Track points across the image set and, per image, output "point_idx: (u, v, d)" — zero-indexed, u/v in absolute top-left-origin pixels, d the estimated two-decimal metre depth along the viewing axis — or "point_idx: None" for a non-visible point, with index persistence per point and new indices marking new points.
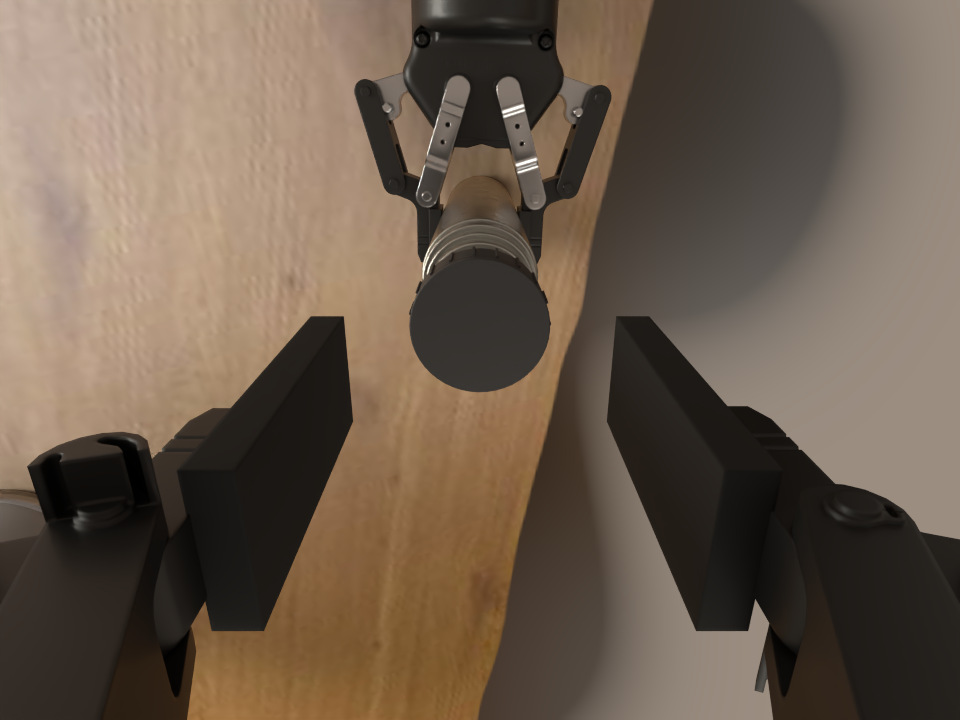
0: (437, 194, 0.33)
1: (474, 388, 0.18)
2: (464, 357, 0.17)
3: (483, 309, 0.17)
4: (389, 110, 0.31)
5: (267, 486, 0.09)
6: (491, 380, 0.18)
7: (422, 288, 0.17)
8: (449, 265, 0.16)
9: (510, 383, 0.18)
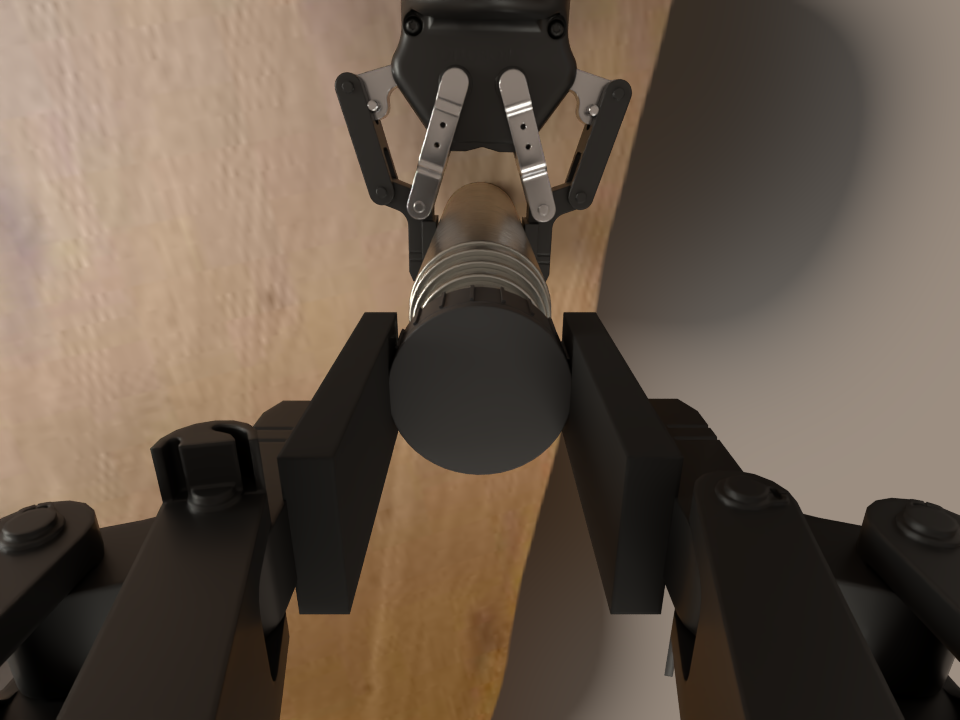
0: (431, 204, 0.29)
1: (473, 470, 0.14)
2: (459, 432, 0.13)
3: (485, 371, 0.13)
4: (375, 108, 0.27)
5: (351, 474, 0.09)
6: (495, 460, 0.13)
7: (403, 343, 0.12)
8: (439, 314, 0.12)
9: (520, 463, 0.14)
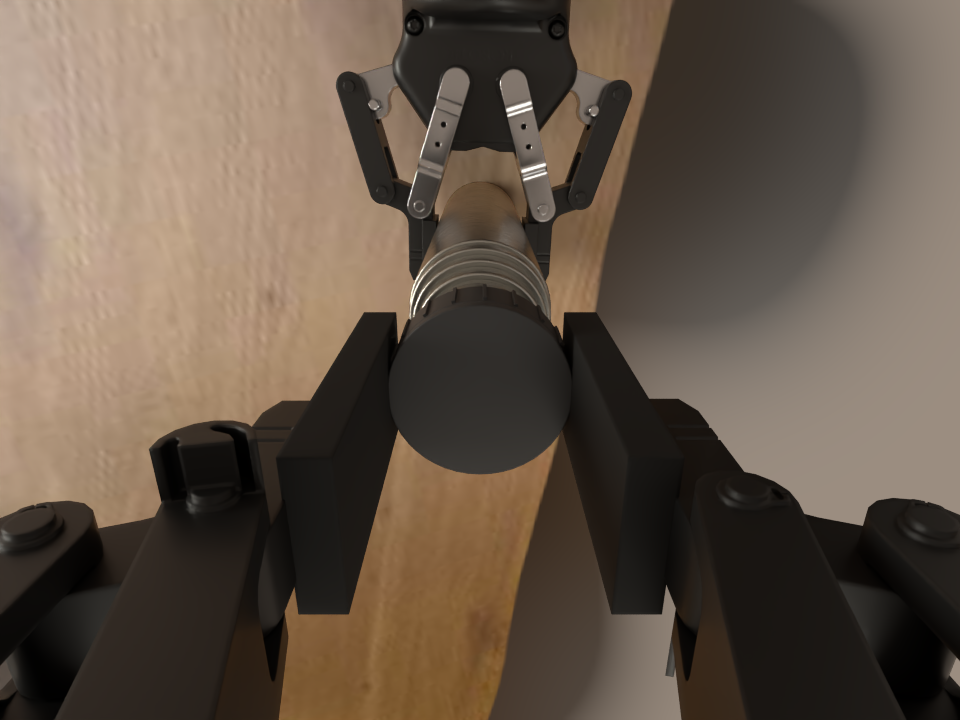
0: (431, 204, 0.29)
1: (566, 380, 0.13)
2: (525, 402, 0.13)
3: (453, 397, 0.13)
4: (376, 107, 0.27)
5: (350, 474, 0.09)
6: (549, 361, 0.13)
7: (450, 468, 0.14)
8: (413, 446, 0.13)
9: (549, 331, 0.12)
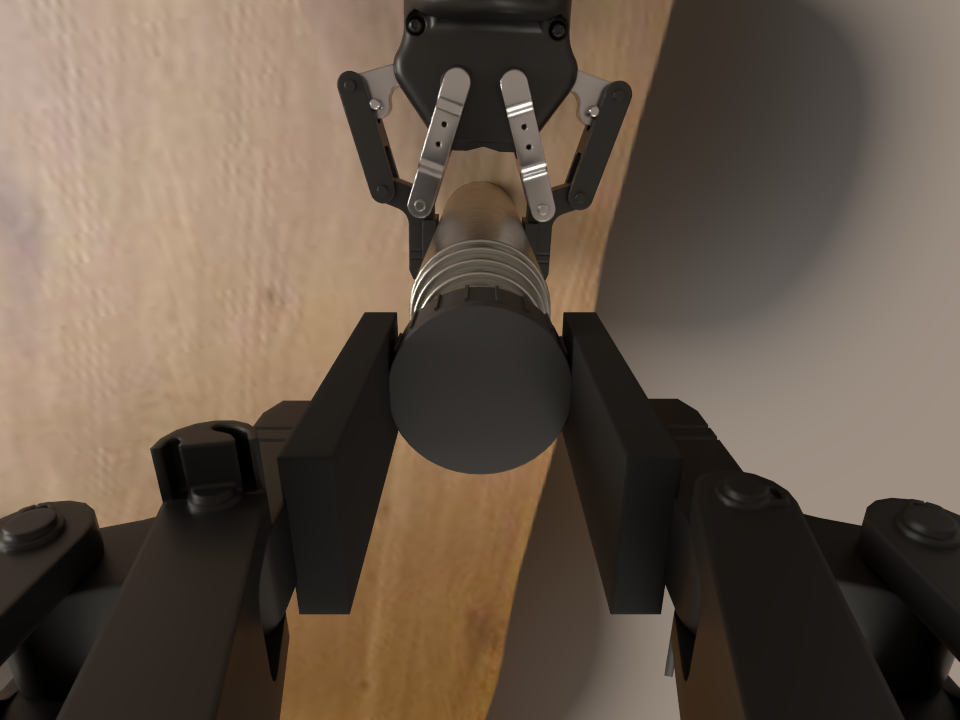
0: (431, 203, 0.29)
1: (438, 321, 0.12)
2: (476, 351, 0.12)
3: (489, 417, 0.13)
4: (377, 107, 0.27)
5: (351, 474, 0.09)
6: (424, 342, 0.12)
7: None
8: (554, 438, 0.13)
9: (398, 347, 0.13)
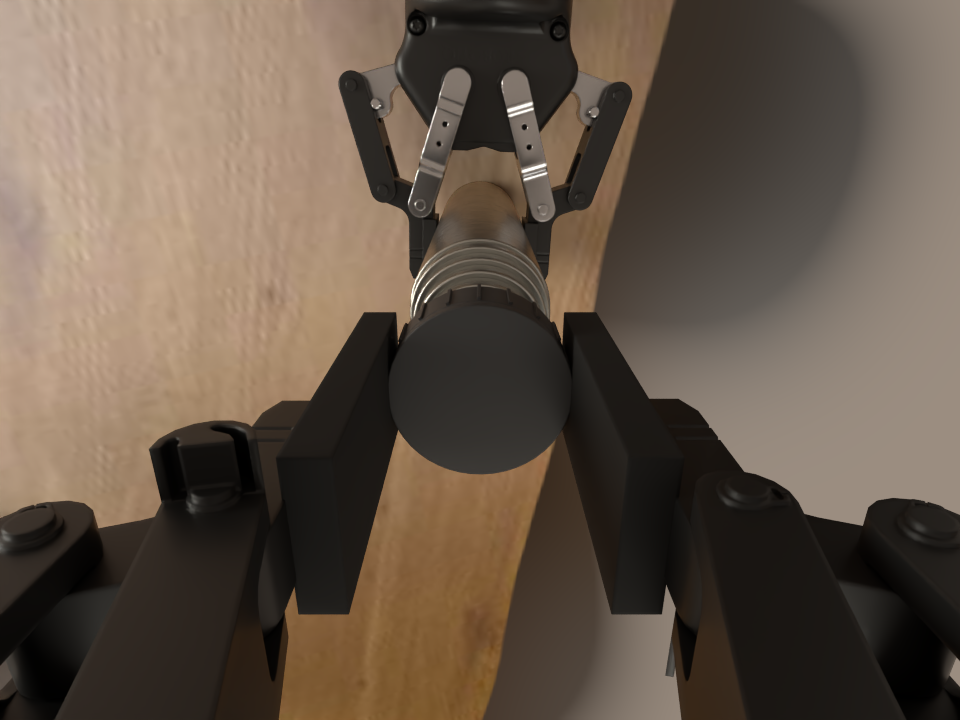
0: (432, 203, 0.29)
1: (418, 447, 0.13)
2: (437, 409, 0.13)
3: (501, 380, 0.13)
4: (378, 106, 0.27)
5: (350, 474, 0.09)
6: (443, 452, 0.13)
7: (460, 308, 0.12)
8: (509, 309, 0.12)
9: (457, 468, 0.14)
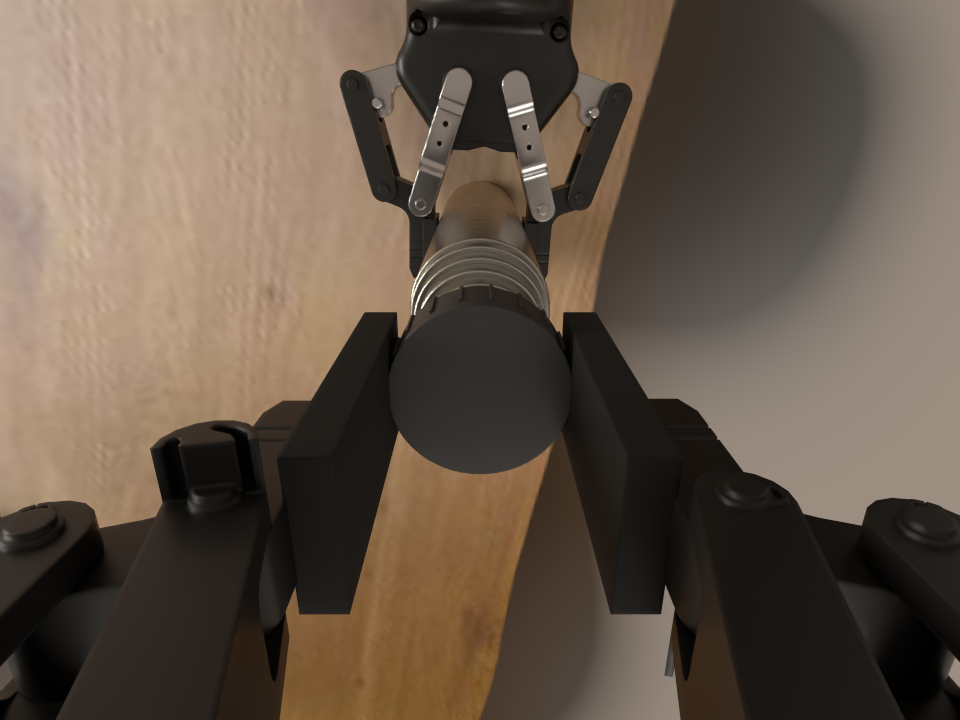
0: (432, 202, 0.29)
1: (552, 434, 0.13)
2: (507, 427, 0.13)
3: (458, 380, 0.13)
4: (379, 106, 0.27)
5: (351, 474, 0.09)
6: (553, 411, 0.13)
7: (401, 431, 0.13)
8: None
9: None
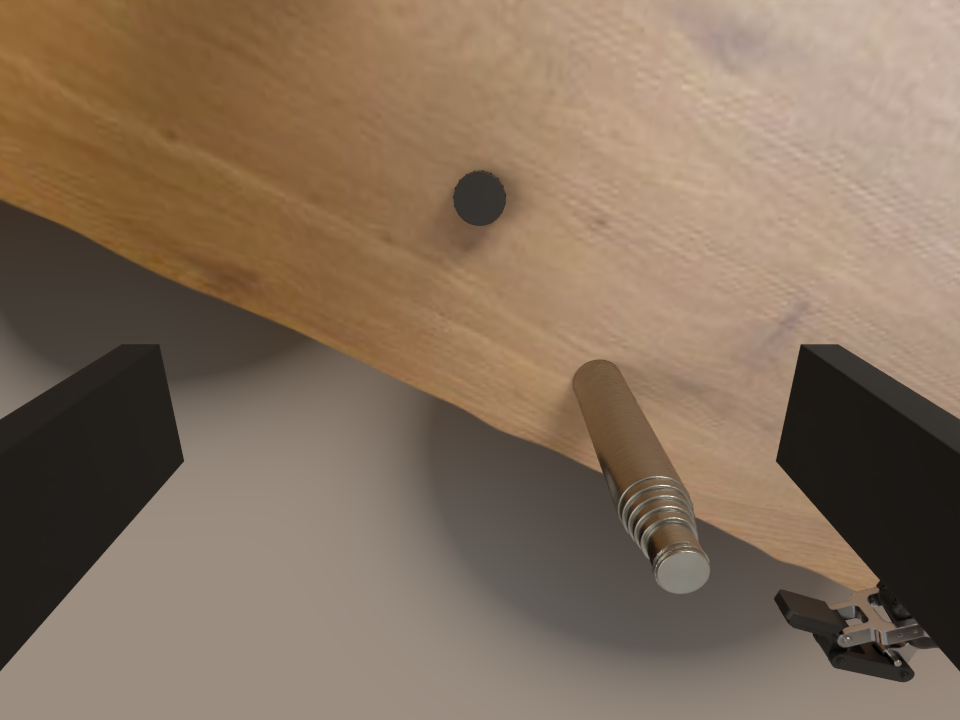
0: None
1: (500, 212, 0.47)
2: (487, 209, 0.47)
3: (473, 194, 0.46)
4: None
5: None
6: (500, 204, 0.46)
7: (457, 211, 0.47)
8: (454, 198, 0.46)
9: (505, 198, 0.46)
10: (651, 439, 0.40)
